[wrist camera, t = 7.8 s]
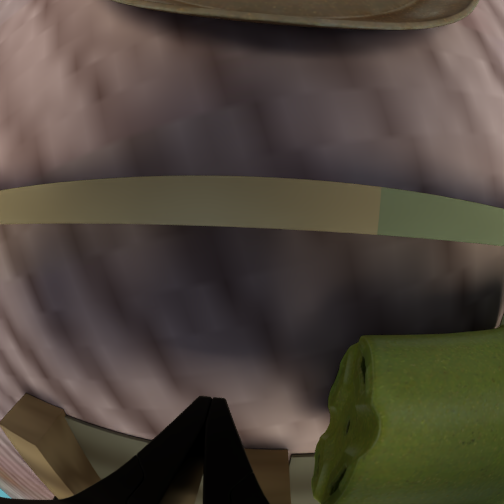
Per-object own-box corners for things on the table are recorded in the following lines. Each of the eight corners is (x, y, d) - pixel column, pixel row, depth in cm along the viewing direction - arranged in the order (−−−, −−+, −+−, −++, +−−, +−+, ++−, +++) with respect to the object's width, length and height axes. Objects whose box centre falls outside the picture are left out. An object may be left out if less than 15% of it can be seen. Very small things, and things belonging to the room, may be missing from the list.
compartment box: (406, 497, 14) (422, 547, 8) (76, 476, 15) (52, 522, 9) (534, 216, 8) (621, 243, 3) (-22, 193, 9) (-107, 212, 3)
